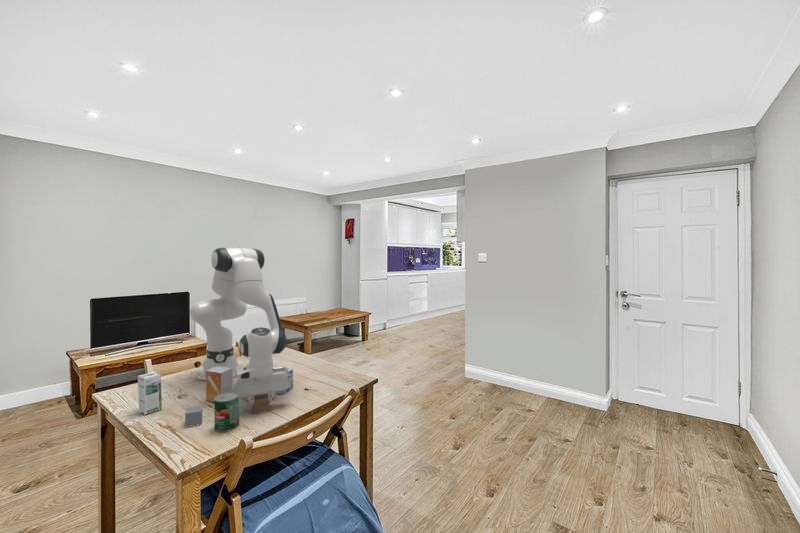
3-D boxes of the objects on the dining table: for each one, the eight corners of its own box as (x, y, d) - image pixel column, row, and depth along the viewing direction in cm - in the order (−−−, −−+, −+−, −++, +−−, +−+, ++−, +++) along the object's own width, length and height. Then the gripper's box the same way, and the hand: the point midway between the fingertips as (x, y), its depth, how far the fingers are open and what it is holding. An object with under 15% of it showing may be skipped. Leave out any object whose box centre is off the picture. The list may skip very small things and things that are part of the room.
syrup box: (145, 415, 131) (144, 378, 130) (138, 411, 134) (137, 375, 133) (162, 409, 136) (161, 373, 135) (155, 406, 139) (154, 370, 138)
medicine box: (284, 394, 151) (284, 375, 151) (275, 393, 152) (275, 374, 152) (293, 387, 159) (293, 369, 158) (284, 386, 160) (284, 368, 159)
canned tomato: (242, 420, 128) (241, 391, 127) (234, 431, 120) (234, 400, 120) (219, 421, 127) (219, 392, 126) (210, 432, 119) (210, 401, 119)
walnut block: (254, 407, 138) (254, 395, 138) (267, 405, 140) (267, 393, 140) (255, 413, 134) (254, 400, 133) (268, 410, 136) (268, 398, 136)
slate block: (186, 421, 127) (186, 408, 127) (202, 418, 129) (202, 405, 129) (185, 427, 122) (185, 413, 122) (201, 424, 125) (201, 411, 125)
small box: (205, 401, 144) (205, 370, 143) (218, 395, 150) (217, 365, 149) (221, 404, 141) (220, 372, 141) (233, 397, 147) (232, 367, 147)
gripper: (287, 363, 144) (287, 396, 144) (232, 370, 135) (233, 405, 135) (289, 368, 138) (289, 402, 139) (233, 376, 129) (233, 412, 130)
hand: (261, 403), depth 137 cm, fingers closed on walnut block, 5 cm apart
